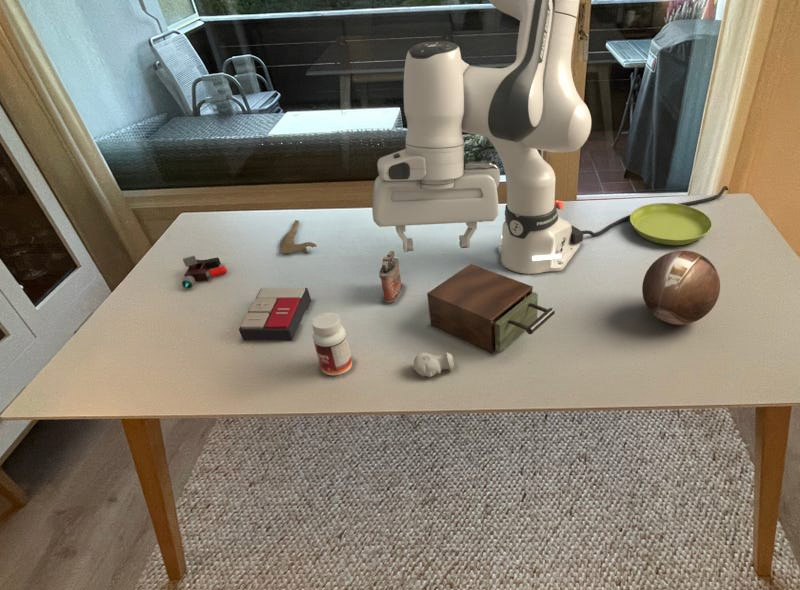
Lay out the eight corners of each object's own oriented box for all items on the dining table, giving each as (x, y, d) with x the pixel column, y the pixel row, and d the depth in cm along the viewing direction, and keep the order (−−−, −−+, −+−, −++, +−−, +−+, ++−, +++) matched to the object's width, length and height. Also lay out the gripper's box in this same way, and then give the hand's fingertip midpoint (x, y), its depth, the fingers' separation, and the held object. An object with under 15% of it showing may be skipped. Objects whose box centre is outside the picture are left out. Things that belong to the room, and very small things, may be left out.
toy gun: (180, 292, 136) (172, 274, 133) (195, 266, 145) (188, 249, 142) (221, 288, 137) (214, 271, 133) (233, 263, 146) (227, 246, 143)
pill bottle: (315, 368, 112) (301, 321, 105) (339, 352, 116) (328, 306, 109) (334, 381, 109) (322, 334, 102) (359, 364, 113) (348, 318, 106)
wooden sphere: (631, 330, 118) (642, 268, 108) (643, 293, 128) (654, 232, 119) (707, 345, 113) (725, 281, 104) (713, 304, 124) (730, 243, 114)
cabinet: (531, 319, 122) (532, 286, 117) (491, 354, 114) (490, 320, 108) (472, 295, 130) (470, 263, 125) (430, 326, 122) (426, 293, 116)
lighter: (395, 305, 128) (389, 266, 122) (380, 303, 129) (374, 265, 123) (405, 286, 134) (400, 248, 128) (392, 284, 135) (386, 247, 129)
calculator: (236, 327, 118) (259, 285, 129) (243, 342, 121) (265, 300, 132) (288, 327, 117) (307, 284, 128) (293, 342, 120) (312, 300, 131)
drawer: (560, 329, 118) (562, 302, 113) (524, 363, 110) (524, 335, 106) (479, 297, 128) (478, 271, 124) (441, 325, 120) (439, 299, 116)
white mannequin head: (413, 381, 110) (417, 359, 113) (454, 382, 109) (457, 360, 112) (409, 370, 106) (413, 347, 109) (451, 371, 105) (454, 348, 108)
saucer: (618, 217, 158) (620, 206, 156) (690, 210, 159) (693, 200, 157) (643, 253, 142) (645, 242, 140) (723, 246, 143) (726, 235, 141)
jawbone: (285, 263, 146) (282, 256, 144) (267, 232, 160) (265, 226, 159) (318, 251, 148) (316, 244, 147) (298, 222, 163) (296, 216, 161)
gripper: (495, 156, 92) (492, 238, 99) (367, 160, 88) (374, 245, 95) (505, 165, 87) (501, 251, 94) (370, 169, 83) (377, 259, 90)
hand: (436, 248), depth 94 cm, fingers open, 8 cm apart
